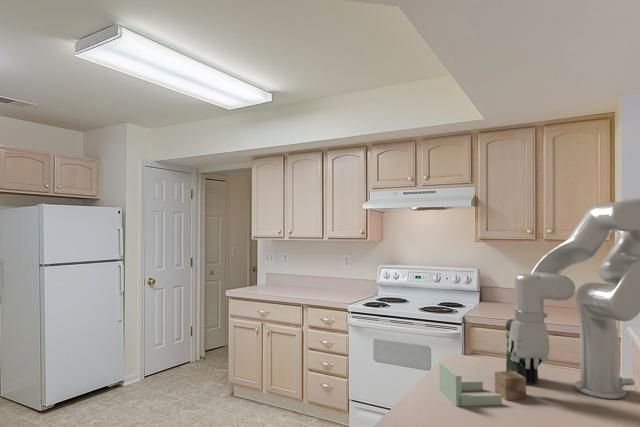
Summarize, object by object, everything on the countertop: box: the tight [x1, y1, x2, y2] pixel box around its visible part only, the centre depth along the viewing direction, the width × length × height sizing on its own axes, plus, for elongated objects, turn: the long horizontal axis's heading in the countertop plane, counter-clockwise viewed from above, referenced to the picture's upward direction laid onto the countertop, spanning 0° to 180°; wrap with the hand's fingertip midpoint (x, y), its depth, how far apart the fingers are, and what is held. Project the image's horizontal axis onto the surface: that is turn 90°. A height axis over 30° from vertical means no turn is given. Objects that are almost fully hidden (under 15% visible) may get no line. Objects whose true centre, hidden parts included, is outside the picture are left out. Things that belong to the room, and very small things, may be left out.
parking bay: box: [439, 362, 503, 407], centre depth 125 cm, size 13×12×8 cm
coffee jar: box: [505, 318, 539, 385], centre depth 141 cm, size 10×8×19 cm
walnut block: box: [494, 371, 527, 401], centre depth 127 cm, size 6×6×6 cm
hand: (529, 381), depth 127 cm, fingers closed
